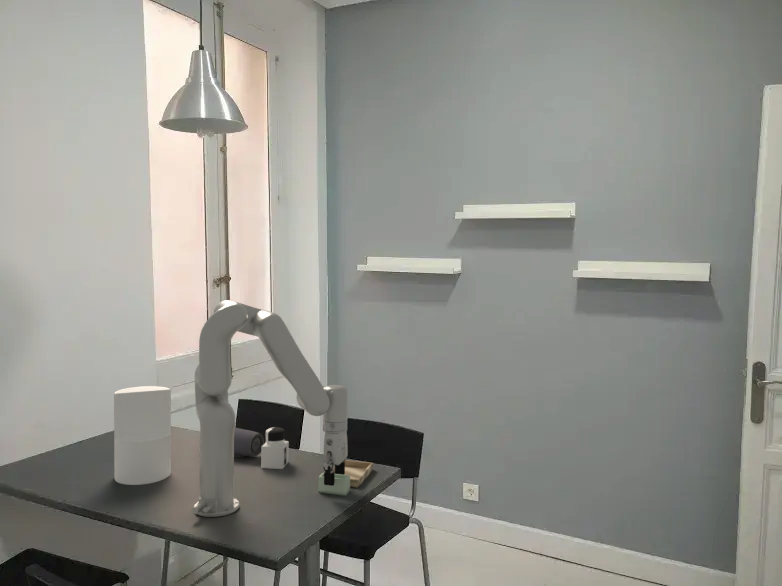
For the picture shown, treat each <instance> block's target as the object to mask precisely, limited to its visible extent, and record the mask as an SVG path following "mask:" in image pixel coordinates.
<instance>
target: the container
mask: <svg viewBox="0 0 782 586" xmlns="http://www.w3.org/2000/svg"><path fill="white" fill-rule="evenodd" d="M285 435H286V430H285V429H284V428H283V427H278V426H274V427H270V428H268V429H266V430H265V442H264V445H263V446H262V447H261V453H260V454H261V455H260V456H261V457H260V458H261V459H260V460H261V461H260V467H261V469H268V470H269V469H270V470H271V469H272V470H273V469H274V470H283V469H284V468H285V467H286V465H287V464H288V463H289V447H290V443H289V441H288V440H286V436H285Z"/></svg>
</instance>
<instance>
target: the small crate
mask: <svg viewBox="0 0 782 586" xmlns="http://www.w3.org/2000/svg"><path fill="white" fill-rule="evenodd" d="M317 478H318V488H317V492H318V493H320V494H321V493H322V494H327V495H330V494H331V495H336V496H344V497H345V496H347V495H348V494H349V493H350V492H351V487H350V475H342V474H335V481H334V486H330V485H324V471H323V472H322V473H321V474H320V475H318V476H317Z"/></svg>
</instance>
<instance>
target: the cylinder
mask: <svg viewBox="0 0 782 586" xmlns="http://www.w3.org/2000/svg"><path fill="white" fill-rule="evenodd" d="M171 393H172V389H171V388H169V387H166V386H159V385H146V386H145V385H143V386H142V385H141V386H134V387H133V386H132V387H125V388H121V389H118V390H116V391H114V393H113V412H114V414H113V423H114V424H113V431H114V432H113V434H114V435H113V436H114V437H113V439H114V440H113V441H114V443H113V445H114V450H113V451H114V455H113V457H114V466H113V468H114V473H113V474H114V477H113V479H114V481H115V482H116V483H118V484H121V485H128V486H138V485H139V486H141V485H149V484H153V483H157V482H160V481H163V480H165V479H167V478H168V477H170V475H171V474H172V468H171V467H172V466H171V465H172V464H171V463H172V461H171V459H172V452H171V451H172V448H171V447H172V445H171V444H172V441H171V439H172V436H171V435H172V433H171V431H172V429H171V428H172V427H171V426H172V425H171V424H172V417H171V416H172V408H171V405H172V403H171V401H172V399H171V398H172V397H171V396H172V395H171Z"/></svg>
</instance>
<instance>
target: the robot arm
mask: <svg viewBox="0 0 782 586" xmlns="http://www.w3.org/2000/svg"><path fill="white" fill-rule="evenodd" d="M238 332H239V333H242V334H247V335H250V336H254V337H258V338H259V340H260V342H261V344H262V345H263V347H264V348H265V350H266V351H267V352H266V353H268V355H269V357H270V358H271V361H272V363H273V364H274V365H275V368H277V370H278V371H279V372H280V373H279V374H281V375H282V376H283V377H284V378H285V379H286V380H287V381H288V382H289V384H290V386H292V388H293V390H295V392H296V396H295V397H296V402H297V404H298V405H299V406H300V408H302V409H303V410H304V411H306V412H307V413H308V414H309V415H310V416H313V417H320V416H322V432H324V437H323V438H324V441H323V462H322V465H323V467H322V468H323V472H324V485H330V486H334V481H335V474H342V475H344V474H345V460H347V458H348V456H349V455H348V452H349V450H348V435H347V431H348V398H349V397H348V396H349V395H348V394H349V393H348V392H349V391H348V389H347V388H348V387H346V386H344V385H340V384H329V385H327V386H325V385H322V382H321V381H320V379H319V377H318V376H317V374H316V373H315V372H314V370H313V368H312V367H311V365H310V364H309V362H308V360H307V359H306V357H305V356H304V355H303V353H302V351H301V350H300V348H299V346H298V344H297V342H296V341H295V339H294V337H293V335H292V333H291V332H290V330H289V329H288V326H287V325H286V323H285V322H284V320H283V318H282V317H281V316H280V315H279V314H277V313H274V312H273V311H271V310H270V311H269V310H266V309H262V308H257V307H254V306H250V305H248V304H243V303H241V302H238V301H234V300H232V299H231V300H228V299H226V300H223V301H220V302H219V303H217V305H216V306H215V307H214V310H213V314H211V316H209V317H208V319H207V320H206V321H205V323H204V324H203V327H202V328H201V331H200V335H199V341H198V363H199V364H198V365H197V366H196V368H195V371H194V393H195V395H194V396H195V411H196V416H197V419H198V420H199V450H198V451H199V452H198V455H199V497H198V501H197V502H196V503H195V504H194V505H193V507H192V508H191V513H192V514H194V515H197V516H201V517H207V518H212V517H213V518H217V517H223V516H227V515H230V514H233V513H235V512H236V511H238V509H239V508H240V501H239V500H238V499H237V498H235V497H234V496H235V495H234V494H235V493H234V492H235V489H234V487H235V484H234V483H235V457H234V434H235V428H236V421H237V420H236V413H235V410H234V408H233V407H232V405H231V404H230V402H229V389H230V387H231V385H232V379H233V378H232V368H231V342H232V339H233V337H234V335H235V334H236V333H238ZM334 467H335V472H333V471H334Z"/></svg>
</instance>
